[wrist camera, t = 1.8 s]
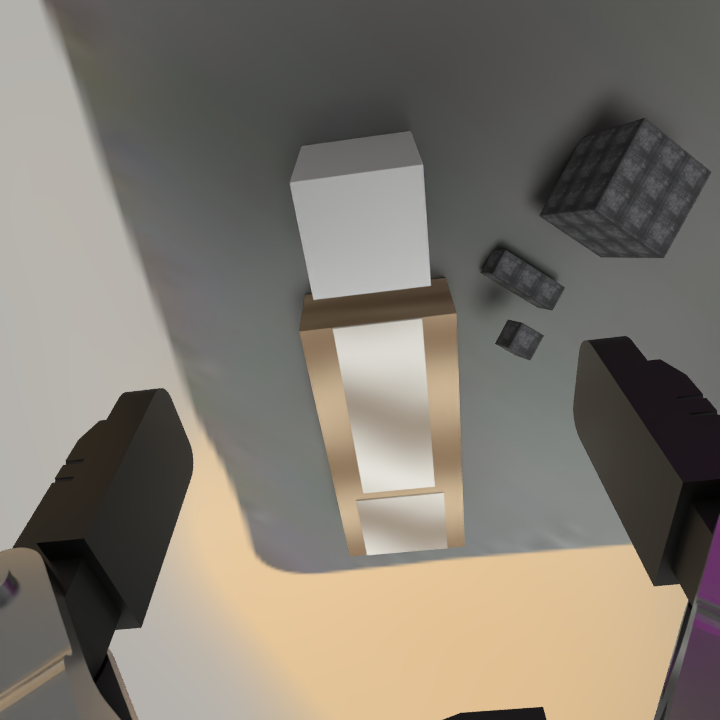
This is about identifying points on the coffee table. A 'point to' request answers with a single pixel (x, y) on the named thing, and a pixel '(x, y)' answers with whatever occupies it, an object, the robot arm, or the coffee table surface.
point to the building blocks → (606, 212)
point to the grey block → (362, 215)
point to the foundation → (390, 414)
